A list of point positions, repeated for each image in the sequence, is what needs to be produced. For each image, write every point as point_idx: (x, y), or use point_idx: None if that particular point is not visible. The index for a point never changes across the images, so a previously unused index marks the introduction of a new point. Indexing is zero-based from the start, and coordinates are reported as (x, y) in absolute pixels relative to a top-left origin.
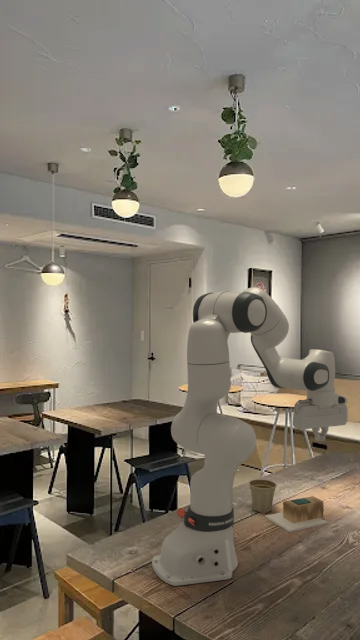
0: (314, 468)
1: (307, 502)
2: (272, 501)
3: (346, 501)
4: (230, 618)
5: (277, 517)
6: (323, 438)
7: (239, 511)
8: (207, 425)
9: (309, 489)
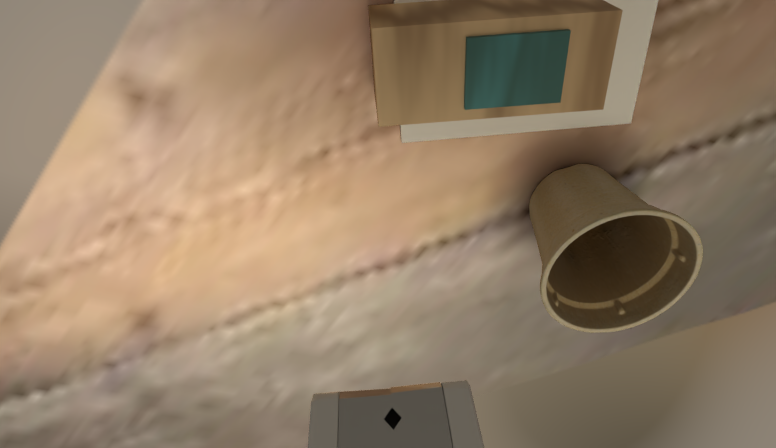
0: None
1: (495, 36)
2: (559, 194)
3: (104, 162)
4: None
5: None
6: (354, 420)
7: (673, 207)
8: None
9: (222, 319)
